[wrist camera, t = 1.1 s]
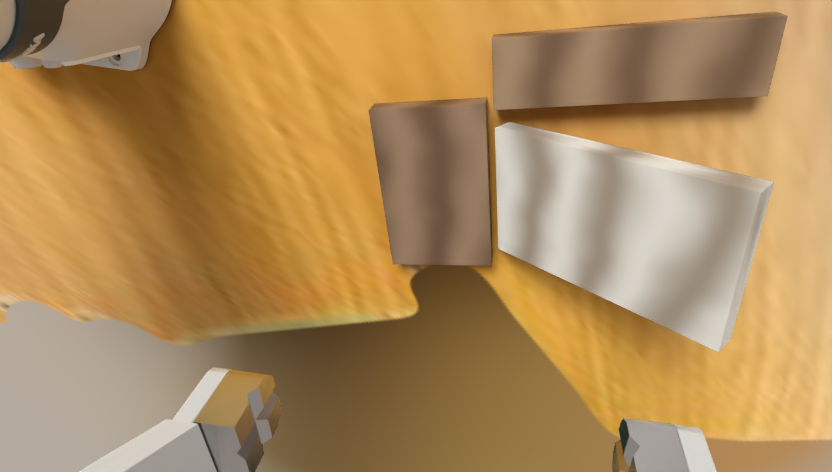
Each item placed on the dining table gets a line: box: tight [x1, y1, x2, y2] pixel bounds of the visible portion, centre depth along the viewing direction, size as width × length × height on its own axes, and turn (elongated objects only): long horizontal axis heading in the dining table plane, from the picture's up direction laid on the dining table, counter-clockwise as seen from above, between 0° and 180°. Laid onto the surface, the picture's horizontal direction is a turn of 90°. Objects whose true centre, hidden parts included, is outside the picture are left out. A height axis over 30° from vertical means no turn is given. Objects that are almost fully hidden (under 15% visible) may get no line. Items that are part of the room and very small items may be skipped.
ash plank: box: [495, 122, 774, 352], centre depth 38 cm, size 20×12×2 cm
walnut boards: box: [369, 12, 787, 266], centre depth 44 cm, size 31×21×2 cm
